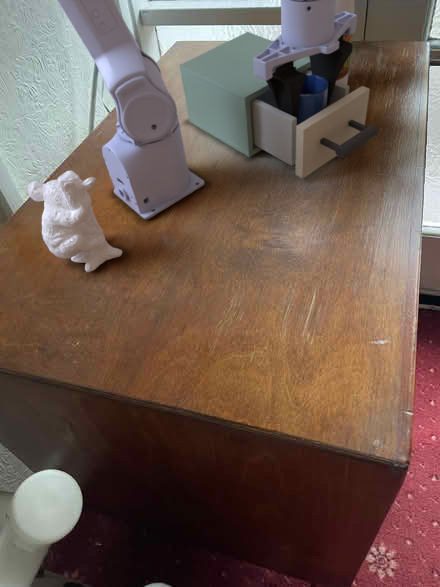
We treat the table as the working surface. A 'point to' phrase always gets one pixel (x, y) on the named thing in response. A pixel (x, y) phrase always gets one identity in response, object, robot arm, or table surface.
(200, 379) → the table surface
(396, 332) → the table surface
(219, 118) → the mint green cabinet
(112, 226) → the table surface
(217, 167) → the table surface
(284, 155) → the drawer
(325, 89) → the cup
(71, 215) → the koala figurine
